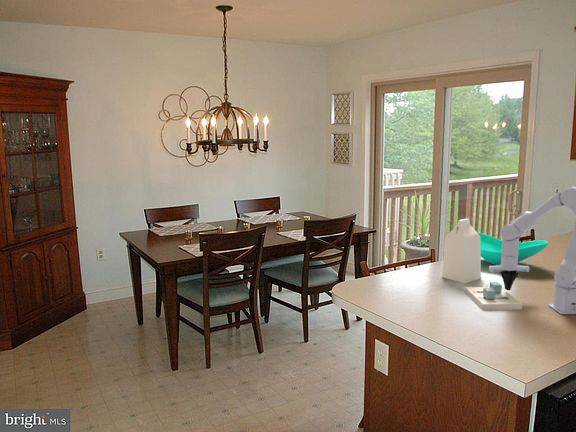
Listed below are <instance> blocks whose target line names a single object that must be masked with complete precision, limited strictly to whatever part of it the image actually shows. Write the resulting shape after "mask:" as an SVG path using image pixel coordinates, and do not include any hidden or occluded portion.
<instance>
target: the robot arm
mask: <svg viewBox="0 0 576 432" xmlns="http://www.w3.org/2000/svg"><path fill="white" fill-rule="evenodd" d="M562 206H565V207H567V208H569V209H571V211H572V212H573V213H574V215H575V216H576V185H574V186H572V187H567V188H565V189H563V190H562V191H559V192H558V193H556V194H554V195H552V196H551V197H550V198H548V199H547V200H546V201H544V202H543V203H542V204H540V205H539V206H538V207H537V208H535V209H534V210H532V211H523V212H520V214H519V216H518V217H517V218H515V219H514V220H513V219H512V220H510V221H509V223H510V224H506V225H504V226H503V227H502V228H501V230H500V235H501V238H502V240H503V243H502V259H501V265H488V271H489V272H490V273H494V272H499V273H500V276H501V278H502V281H503V285H504V290H505V291H511V289H512V286H513V285H514V282H515V280H516V279H517V278H518V275H519V273H518V272H526V273H529V272H530V266H529V265H520V264H519V262H518V250H519V243H520V238H521V236H522V234H524V233H526V232H528V231H529V230H530V229H532V228H533V227H534V226H536V225H538V224H539V223H538V221H539V218H541V217H542V216H544V215H546V214H547V213H549V212H550V211H552V210H553V209H555V208H557V207H562ZM569 238H570V239H569V241H568V245H567V248H566V251H565V254H564V258H563V260H562V261H561V264H560V266H559V268H558V270H557V271H555V273H554V274H553V281H554V293H553V303H548V306H549V308H551V309H553V310H555V311H556V312H557V313H559V314H561V315H576V220H575V221H574V225H573V229H572V232H571V236H570V237H569Z"/></svg>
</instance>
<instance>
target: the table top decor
mask: <svg viewBox="0 0 576 432" xmlns="http://www.w3.org/2000/svg"><path fill="white" fill-rule="evenodd" d="M476 232H477V231H476ZM477 233H478V234H479V236H480V239H481V259H483V260H485V261H486V262H488V263H489V264H492V265H493V266H495V265H501V259H502V243H503V239H499V238H496V237H494V236H491V235H488V234H485V233H482V232H477ZM548 244H549V241H547V240H542V239H540V240H531V241H525V242H519V250H518V263H520V262H521V261H525V260H526V259H528V258H531V257H533V256H535V255H537V254H538V253H540V252H542V251H544V250H545V249H546V248H547V245H548Z"/></svg>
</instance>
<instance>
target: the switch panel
mask: <svg viewBox="0 0 576 432" xmlns="http://www.w3.org/2000/svg"><path fill="white" fill-rule="evenodd" d="M483 288H490V286H464V293H465V294H466V295H467V296H468V297H469V296H470V297H469V298H470V299H472V300H473V301H474V303H476V304H477V305H478V306H479V307H480V308H481V310H523V303H522V302H520V301H519V300H518V299H517V298H515V297H514V296H513V295H511V294H510V293H509V292H508V291H507V290H506V289H505V288H504V289H503V288H502V290H501V293H495V299H486V298H485V297H484V296H483Z"/></svg>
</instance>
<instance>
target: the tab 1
mask: <svg viewBox="0 0 576 432" xmlns="http://www.w3.org/2000/svg"><path fill="white" fill-rule="evenodd" d="M495 292H496V291H495V290H494V289H492V288H483V296H484V297H485V298H486V299H495Z"/></svg>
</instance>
